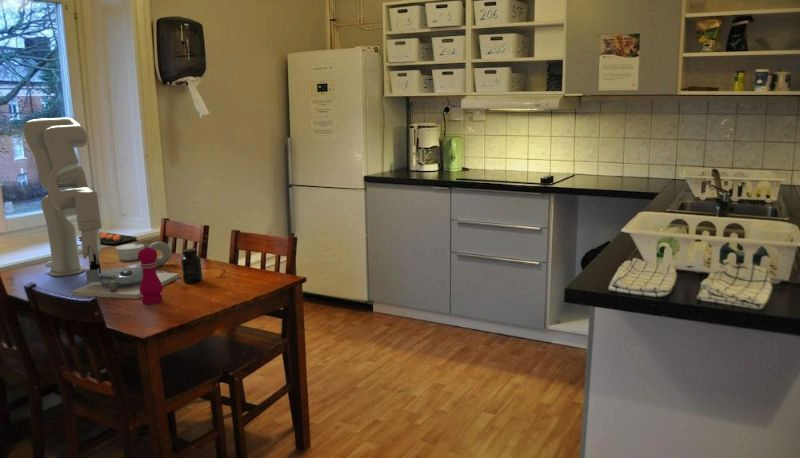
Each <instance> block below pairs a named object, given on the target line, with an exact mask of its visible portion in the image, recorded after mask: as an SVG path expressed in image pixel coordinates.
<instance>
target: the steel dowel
mask: <svg viewBox="0 0 800 458" xmlns="http://www.w3.org/2000/svg"><path fill="white" fill-rule="evenodd" d="M109 285H110V292H116V291H117V290H116V282H115V281H110V282H109Z"/></svg>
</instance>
